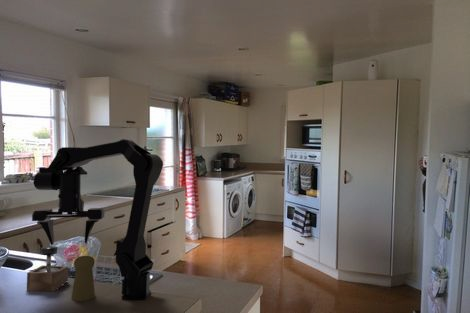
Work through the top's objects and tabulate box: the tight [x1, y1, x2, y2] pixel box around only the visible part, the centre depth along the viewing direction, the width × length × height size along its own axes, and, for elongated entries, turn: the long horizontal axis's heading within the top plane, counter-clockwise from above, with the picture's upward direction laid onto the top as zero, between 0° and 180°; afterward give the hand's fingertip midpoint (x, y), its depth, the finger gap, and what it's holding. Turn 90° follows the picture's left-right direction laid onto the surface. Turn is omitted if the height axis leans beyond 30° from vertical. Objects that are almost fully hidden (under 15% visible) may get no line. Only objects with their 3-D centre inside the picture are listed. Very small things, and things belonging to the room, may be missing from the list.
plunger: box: [38, 245, 59, 273], centre depth 109 cm, size 6×6×7 cm
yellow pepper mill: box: [70, 255, 96, 302], centre depth 101 cm, size 6×6×11 cm
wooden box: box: [26, 265, 69, 292], centre depth 109 cm, size 8×8×5 cm
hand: (69, 244), depth 108 cm, fingers open, 9 cm apart
